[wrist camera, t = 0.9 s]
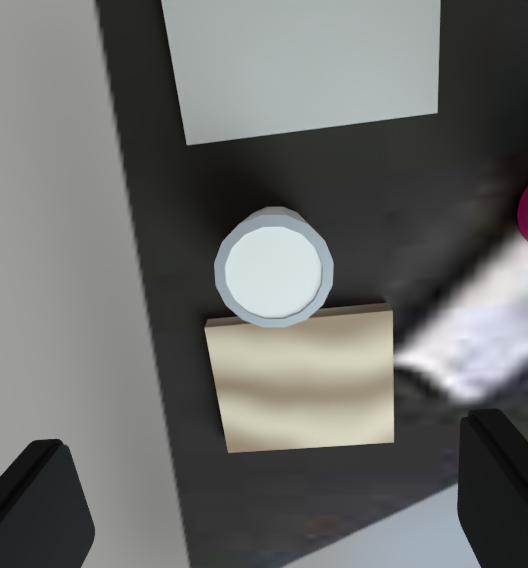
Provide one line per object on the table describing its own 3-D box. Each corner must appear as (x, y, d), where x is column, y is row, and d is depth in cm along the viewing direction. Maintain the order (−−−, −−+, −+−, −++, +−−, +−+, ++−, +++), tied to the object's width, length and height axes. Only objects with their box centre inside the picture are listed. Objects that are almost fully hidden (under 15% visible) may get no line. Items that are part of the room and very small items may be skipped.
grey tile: (152, -74, 23) (146, -84, 22) (436, -125, 21) (444, -137, 20) (190, 145, 27) (186, 145, 26) (431, 113, 25) (437, 112, 24)
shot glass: (222, 279, 30) (206, 318, 23) (236, 188, 28) (222, 203, 21) (311, 295, 30) (319, 338, 23) (332, 206, 28) (348, 227, 21)
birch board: (207, 319, 31) (204, 327, 30) (387, 302, 30) (392, 310, 28) (230, 440, 35) (228, 452, 34) (389, 429, 34) (393, 442, 33)
